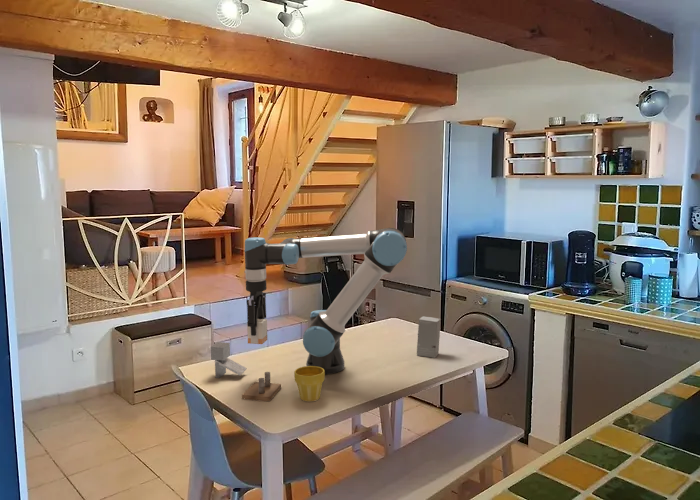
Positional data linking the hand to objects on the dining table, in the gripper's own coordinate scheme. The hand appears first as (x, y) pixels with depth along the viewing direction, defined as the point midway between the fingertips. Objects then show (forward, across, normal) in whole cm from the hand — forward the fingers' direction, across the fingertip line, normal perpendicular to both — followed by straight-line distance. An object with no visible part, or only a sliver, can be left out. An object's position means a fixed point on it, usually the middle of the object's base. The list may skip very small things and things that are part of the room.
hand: (257, 340), depth 208 cm
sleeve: (0, 0, 0) cm, 0 cm away
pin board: (+15, +14, +6) cm, 21 cm away
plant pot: (+15, +14, +24) cm, 31 cm away
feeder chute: (+15, 0, -11) cm, 18 cm away
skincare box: (+15, -40, +61) cm, 74 cm away
